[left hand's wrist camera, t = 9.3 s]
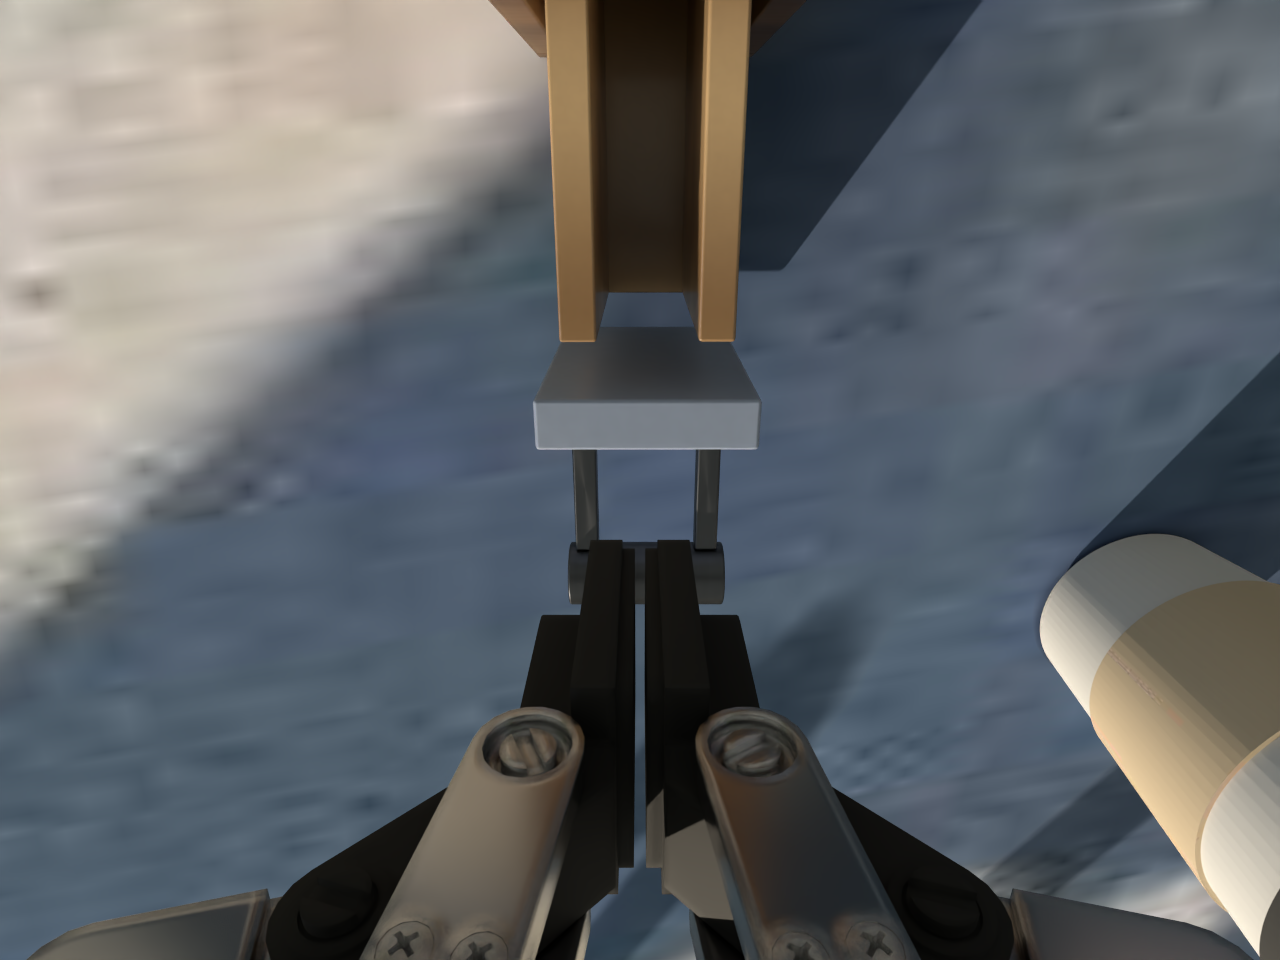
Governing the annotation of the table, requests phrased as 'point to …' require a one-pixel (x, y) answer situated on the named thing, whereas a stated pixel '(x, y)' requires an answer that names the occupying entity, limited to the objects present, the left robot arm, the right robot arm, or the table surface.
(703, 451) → the drawer
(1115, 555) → the coffee cup
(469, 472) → the table surface
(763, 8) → the brown wooden block
